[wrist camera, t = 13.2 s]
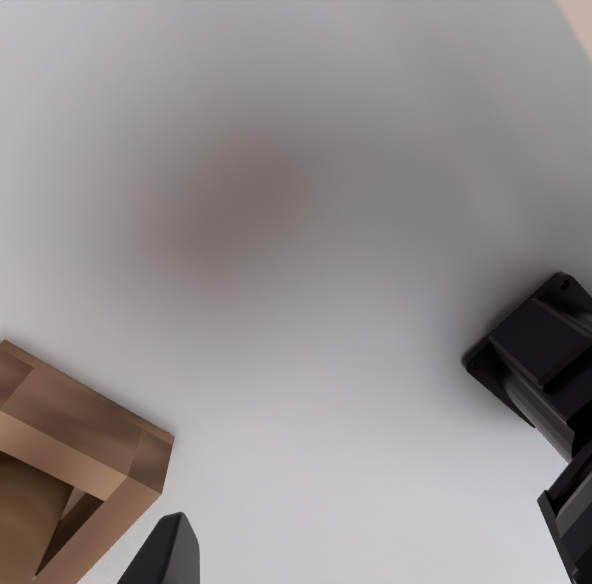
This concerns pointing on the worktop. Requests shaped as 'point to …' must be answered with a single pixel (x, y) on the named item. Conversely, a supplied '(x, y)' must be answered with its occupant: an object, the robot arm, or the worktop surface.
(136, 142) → the worktop surface
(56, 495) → the dowel
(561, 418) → the robot arm
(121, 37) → the worktop surface
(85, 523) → the socket block
